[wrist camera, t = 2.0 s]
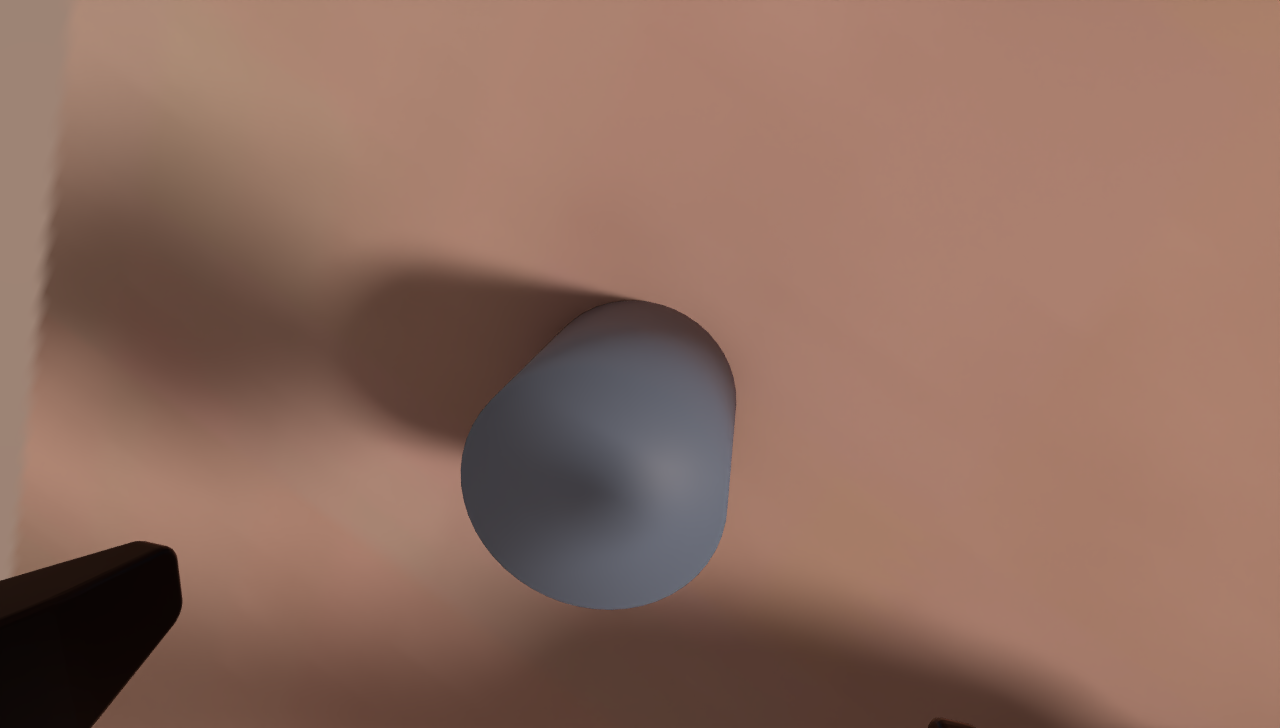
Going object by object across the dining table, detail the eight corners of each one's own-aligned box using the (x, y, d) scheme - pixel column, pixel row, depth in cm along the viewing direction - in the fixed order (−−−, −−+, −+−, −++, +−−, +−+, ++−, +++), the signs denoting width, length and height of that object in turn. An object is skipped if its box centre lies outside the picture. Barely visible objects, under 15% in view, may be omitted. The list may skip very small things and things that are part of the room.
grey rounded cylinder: (718, 502, 16) (704, 633, 12) (533, 467, 16) (457, 580, 12) (752, 318, 14) (749, 393, 10) (547, 285, 15) (465, 343, 11)
